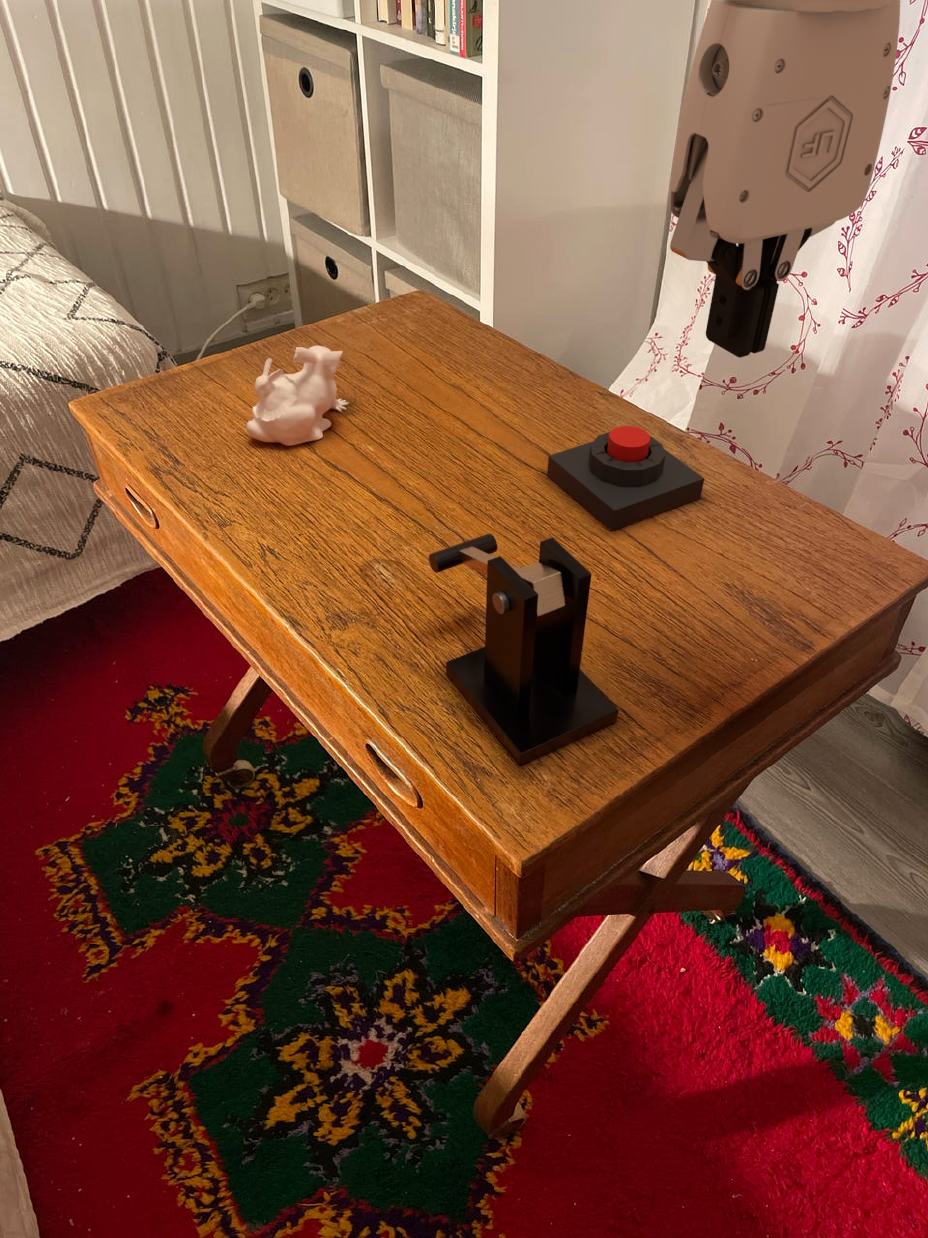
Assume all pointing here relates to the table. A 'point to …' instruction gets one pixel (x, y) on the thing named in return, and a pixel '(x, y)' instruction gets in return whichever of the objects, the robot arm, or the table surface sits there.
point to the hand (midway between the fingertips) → (733, 344)
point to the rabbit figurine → (297, 398)
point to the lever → (534, 574)
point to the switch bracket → (533, 662)
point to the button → (628, 444)
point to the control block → (624, 482)
